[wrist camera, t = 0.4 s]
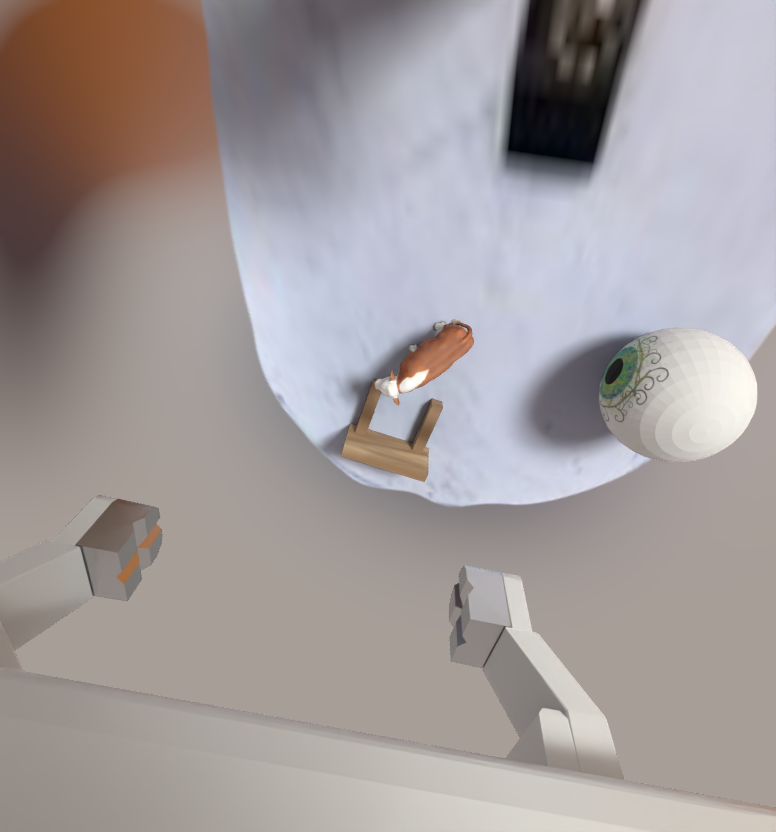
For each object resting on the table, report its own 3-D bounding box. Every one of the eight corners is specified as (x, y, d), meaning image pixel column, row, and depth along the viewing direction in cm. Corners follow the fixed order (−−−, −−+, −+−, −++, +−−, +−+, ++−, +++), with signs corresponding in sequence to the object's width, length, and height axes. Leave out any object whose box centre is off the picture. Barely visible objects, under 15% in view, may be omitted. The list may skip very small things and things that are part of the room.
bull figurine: (374, 360, 61) (367, 389, 54) (461, 303, 56) (466, 327, 49) (393, 384, 62) (389, 416, 55) (480, 331, 57) (487, 358, 50)
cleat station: (366, 376, 62) (360, 398, 57) (449, 404, 63) (450, 427, 58) (347, 431, 67) (340, 456, 62) (424, 455, 68) (424, 482, 63)
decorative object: (646, 285, 53) (714, 333, 40) (739, 348, 56) (830, 411, 43) (558, 383, 60) (592, 450, 47) (645, 434, 63) (699, 510, 50)
